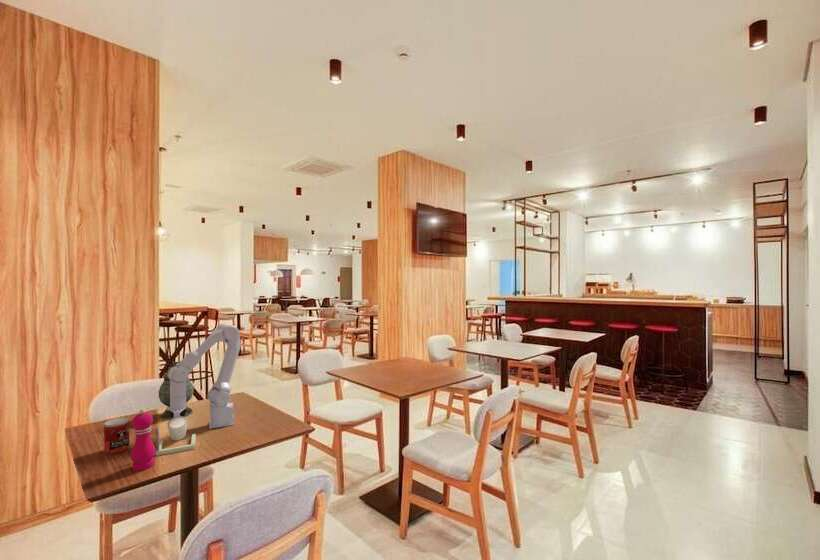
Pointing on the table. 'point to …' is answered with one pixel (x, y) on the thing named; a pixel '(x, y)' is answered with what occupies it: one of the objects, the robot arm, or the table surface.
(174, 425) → the beige faceted cylinder
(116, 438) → the canned food
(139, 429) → the pepper mill
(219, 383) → the robot arm
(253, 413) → the table surface
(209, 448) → the table surface
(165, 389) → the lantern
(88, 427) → the table surface
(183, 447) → the pale green angular frame
